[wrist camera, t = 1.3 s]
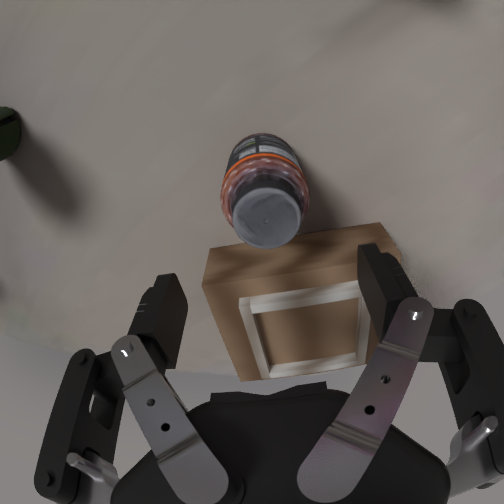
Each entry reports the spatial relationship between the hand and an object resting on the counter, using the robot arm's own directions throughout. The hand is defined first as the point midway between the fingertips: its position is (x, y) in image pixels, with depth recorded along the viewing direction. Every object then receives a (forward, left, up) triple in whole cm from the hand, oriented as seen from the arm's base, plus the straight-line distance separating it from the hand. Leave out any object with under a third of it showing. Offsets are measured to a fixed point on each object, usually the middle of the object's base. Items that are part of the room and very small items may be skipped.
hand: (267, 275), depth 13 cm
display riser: (-2, +16, -16) cm, 23 cm away
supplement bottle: (0, 0, -17) cm, 17 cm away
